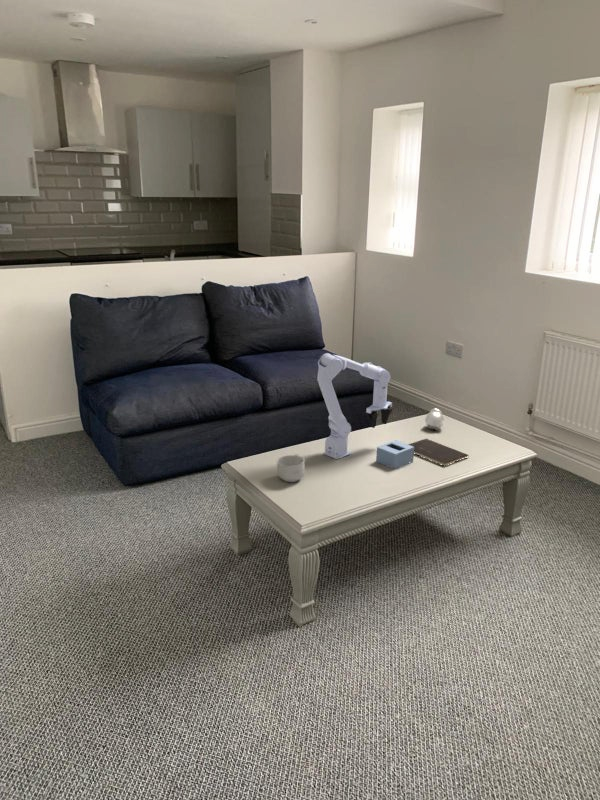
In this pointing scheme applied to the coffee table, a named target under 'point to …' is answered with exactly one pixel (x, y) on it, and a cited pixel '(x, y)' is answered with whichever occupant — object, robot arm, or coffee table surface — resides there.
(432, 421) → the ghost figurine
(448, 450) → the hardcover book
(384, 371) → the robot arm
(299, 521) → the coffee table surface
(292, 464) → the teacup
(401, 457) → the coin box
